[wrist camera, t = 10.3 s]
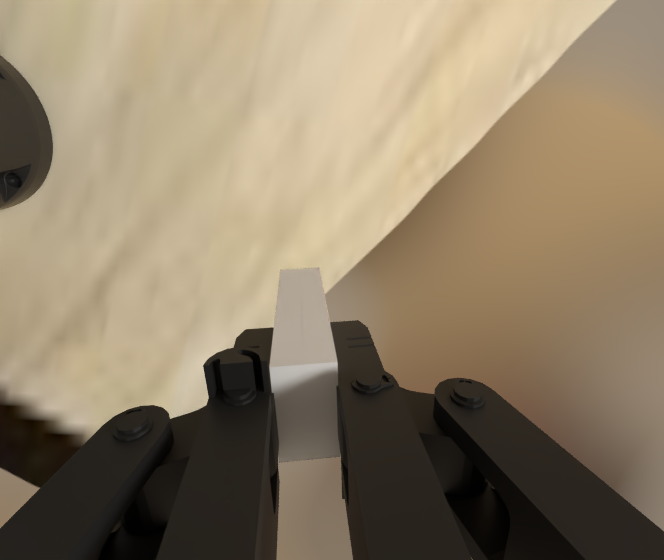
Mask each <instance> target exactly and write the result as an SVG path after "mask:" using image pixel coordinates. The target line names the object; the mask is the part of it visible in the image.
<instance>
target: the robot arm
mask: <svg viewBox="0 0 664 560" xmlns="http://www.w3.org/2000/svg"><path fill="white" fill-rule="evenodd" d="M52 153H53V143H52V134H51V129H50V125H49V121H48V118H47V116H46V113H45V111H44V108H43V106H42V104H41V102H40V100H39V98H38V97H37V95H36V94H35V92H34V90H33V89H32V88H31V86H30V85H29V83H28V82H27V81H26V80H25V78H24V77H23V76H22V75H21V74H20V73H19V72H18V71H17V70H16V69H15V68H14V67H13V66H12V65H11V64H10V63H9V62H8V61H6V60H5V59H4V58H3V57H2V56H0V209H3V208H8V207H11V206H14V205H17V204H19V203H21V202H23V201H25V200H26V199H28V198H29V197H30V196H32V195H33V194H34V193H35V192H36V191H37V190H38V189H39V188H40V186H41V185H42V183H43V182H44V180H45V178H46V176H47V174H48V172H49V169H50V165H51V161H52ZM203 367H204V373H205V378H206V384H207V390H208V395H209V399H208V402H207V405H206V406H205V407H203V408H201V409H199V410H197V411H194V412H191V413H188V414H185V415H182V416H178V417H175V418H172V419H170V417H169V413H168V412H167V411H166V410H165V409H164V408H162V407H158V406H154V405H150V406H139V407H135V408H132V409H129V410H126V411H124V412H122V413H120V414H118V415H116V416H114V417H113V418H112V419H110V420H109V421H108V422H107V423H105V424H104V425H103V426H102V427H101V428H100V429H99V430H98V431H97V432H96V433H95V434H94V435H93V436H92V437H91V438H90V439H89V440H88V441H87V442H86V443H85V444H84V445H83V446H82V447H81V448H80V449H79V450H78V451H77V452H76V453H75V454H74V455H73V456H72V457H71V458H70V459H69V460H68V461H67V462H66V463H65V464H64V465H63V466H62V467H61V468H60V469H59V470H58V471H57V472H56V473H55V474H54V475H53V476H52V477H51V478H50V479H49V480H48V481H47V482H46V483H45V484H44V485H43V486H42V487H41V488H40V489H39V490H38V491H37V492H36V493H35V494H34V495H33V496H32V497H31V498H30V499H29V500H28V501H27V502H26V503H25V504H24V505H23V506H22V507H21V508H20V509H19V510H18V511H17V512H16V513H15V514H14V515H13V516H12V517H11V518H10V519H9V520H8V522H6V523H5V524H4V525H3V526H2V527H1V528H0V560H276V553H277V531H278V507H279V505H278V504H279V472H278V455H279V462H290V461H300V460H309V459H321V458H331V457H340V453H341V471H342V498H343V499H345V503H346V511H347V517H348V525H349V532H350V540H351V547H352V555H353V560H472V559H473V560H664V531H662V530H661V529H660V528H659V527H658V526H656V525H655V524H654V523H653V522H652V521H650V520H649V519H648V518H647V517H646V516H644V515H643V514H642V513H641V512H640V511H638V510H637V509H636V508H635V507H633V506H632V505H631V504H630V503H629V502H628V501H626V500H625V499H624V498H623V497H622V496H620V495H619V494H618V493H617V492H615V491H614V490H613V489H612V488H611V487H609V486H608V485H607V484H606V483H605V482H603V481H602V480H601V479H600V478H598V477H597V476H596V475H595V474H594V473H593V472H591V471H590V470H589V469H588V468H587V467H585V466H584V465H583V464H582V463H580V462H579V461H578V460H577V459H576V458H574V457H573V456H572V455H571V454H570V453H568V452H567V451H566V450H565V449H564V448H562V447H561V446H560V445H559V444H558V443H556V442H555V441H554V440H553V439H552V438H550V437H549V436H548V435H547V434H545V433H544V432H543V431H542V430H541V429H539V428H538V427H537V426H536V425H535V424H533V423H532V422H531V421H529V420H528V419H527V418H526V417H525V416H523V414H521V413H520V412H519V411H517V410H516V409H515V408H514V407H513V406H512V405H510V404H509V403H508V402H507V401H506V400H504V399H503V398H502V397H501V396H500V395H498V394H497V393H496V392H495V391H494V390H492V389H491V388H489V387H488V386H486V385H484V384H483V383H480V382H477V381H474V380H471V379H464V378H453V379H447V380H445V381H442V382H440V383H439V384H438V386H437V387H436V388H435V394H427V393H420V392H414V391H409V390H406V389H404V388H401V387H399V385H398V383H397V381H396V380H395V378H394V377H393V376H392V375H390V374H389V373H387V372H386V371H384V368H383V366H382V363H381V361H380V358H379V355H378V353H377V350H376V348H375V346H374V342H373V340H372V338H371V335H370V332H369V330H368V328H367V327H366V326H365V325H364V324H362V323H361V322H360V321H358V320H357V321H343V322H330V321H329V315H328V310H327V305H326V300H325V294H324V289H323V284H322V279H321V274H320V269H319V268H303V269H286V270H280V276H279V285H278V294H277V303H276V312H275V321H274V328H260V329H246V330H245V331H244V332H242V333H241V334H240V335H239V336H238V337H237V338H236V341H235V345H234V348H230V349H226V350H224V351H221V352H218V353H216V354H215V355H213V356H212V357H210V358H209V359H208V360H207V361H206V362H205V364H204V365H203ZM471 557H472V559H471Z"/></svg>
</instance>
